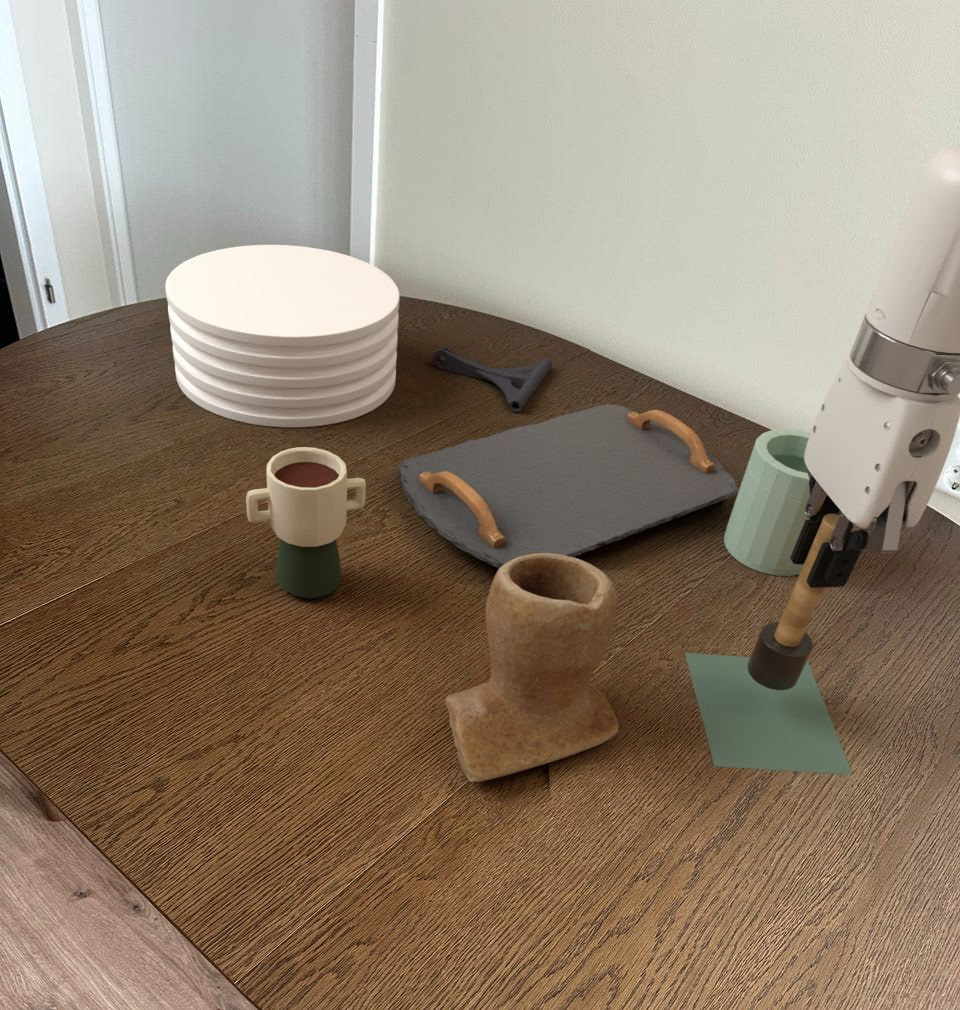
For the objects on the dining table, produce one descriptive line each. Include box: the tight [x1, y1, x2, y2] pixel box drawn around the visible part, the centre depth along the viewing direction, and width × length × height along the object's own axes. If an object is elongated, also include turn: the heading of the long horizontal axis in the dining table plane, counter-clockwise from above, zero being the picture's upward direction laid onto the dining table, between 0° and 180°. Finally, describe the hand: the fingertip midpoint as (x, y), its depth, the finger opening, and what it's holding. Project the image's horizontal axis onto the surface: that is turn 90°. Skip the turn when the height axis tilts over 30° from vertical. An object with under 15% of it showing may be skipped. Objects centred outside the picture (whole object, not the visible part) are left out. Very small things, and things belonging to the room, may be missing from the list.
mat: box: [684, 652, 854, 776], centre depth 84 cm, size 12×14×1 cm
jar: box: [723, 428, 811, 577], centre depth 100 cm, size 10×10×12 cm
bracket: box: [432, 346, 553, 413], centre depth 127 cm, size 14×15×3 cm
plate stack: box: [164, 244, 400, 429], centre depth 119 cm, size 28×28×12 cm
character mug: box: [245, 446, 367, 599], centre depth 87 cm, size 11×7×13 cm, turn 111°
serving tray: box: [396, 403, 740, 570], centre depth 106 cm, size 39×23×6 cm, turn 126°
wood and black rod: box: [747, 514, 840, 690], centre depth 77 cm, size 4×4×16 cm
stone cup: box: [444, 553, 619, 783], centre depth 75 cm, size 15×12×15 cm
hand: (817, 571), depth 75 cm, fingers closed on wood and black rod, 2 cm apart
